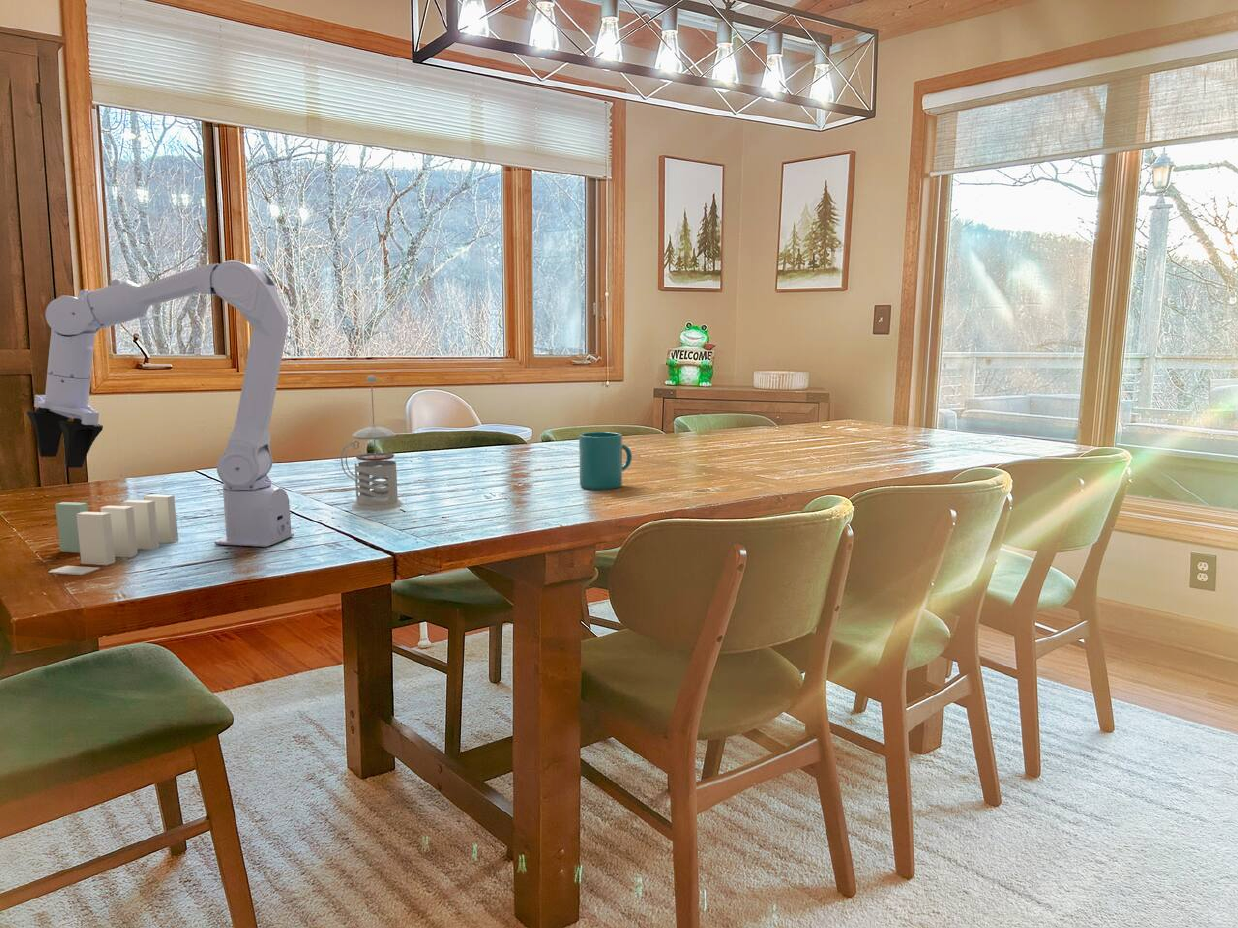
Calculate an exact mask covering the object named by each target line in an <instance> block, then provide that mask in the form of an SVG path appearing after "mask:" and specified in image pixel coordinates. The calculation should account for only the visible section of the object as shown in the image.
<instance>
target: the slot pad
mask: <svg viewBox="0 0 1238 928" xmlns="http://www.w3.org/2000/svg"><path fill="white" fill-rule="evenodd" d="M100 569H101V568H100V567H94V566H92V567H91V566H80V565H79V566H78V565H77V566H76V565H64V566H62V567H58V568H55V569H52V570H50V571H48V574H57V575H58V574H60V575H74V576H75V575H76V576H83V575H86V574H90V573H92V572H95V571H98V570H100Z"/></svg>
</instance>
